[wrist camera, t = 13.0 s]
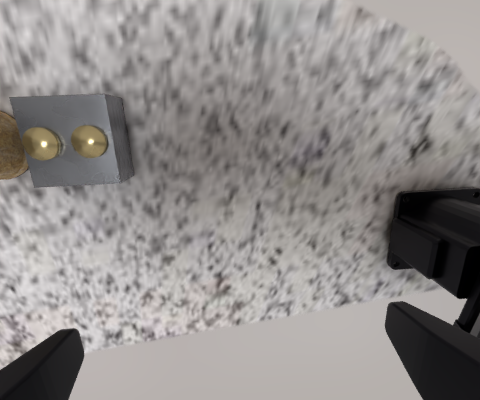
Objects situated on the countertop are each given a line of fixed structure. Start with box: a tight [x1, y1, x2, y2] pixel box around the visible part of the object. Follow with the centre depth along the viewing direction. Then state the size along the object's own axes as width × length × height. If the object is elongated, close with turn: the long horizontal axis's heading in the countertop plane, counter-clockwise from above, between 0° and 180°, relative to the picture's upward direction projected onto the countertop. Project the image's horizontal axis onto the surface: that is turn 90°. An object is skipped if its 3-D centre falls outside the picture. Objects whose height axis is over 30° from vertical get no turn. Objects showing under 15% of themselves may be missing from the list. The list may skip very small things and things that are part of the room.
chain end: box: [9, 94, 134, 188], centre depth 16 cm, size 5×5×3 cm
